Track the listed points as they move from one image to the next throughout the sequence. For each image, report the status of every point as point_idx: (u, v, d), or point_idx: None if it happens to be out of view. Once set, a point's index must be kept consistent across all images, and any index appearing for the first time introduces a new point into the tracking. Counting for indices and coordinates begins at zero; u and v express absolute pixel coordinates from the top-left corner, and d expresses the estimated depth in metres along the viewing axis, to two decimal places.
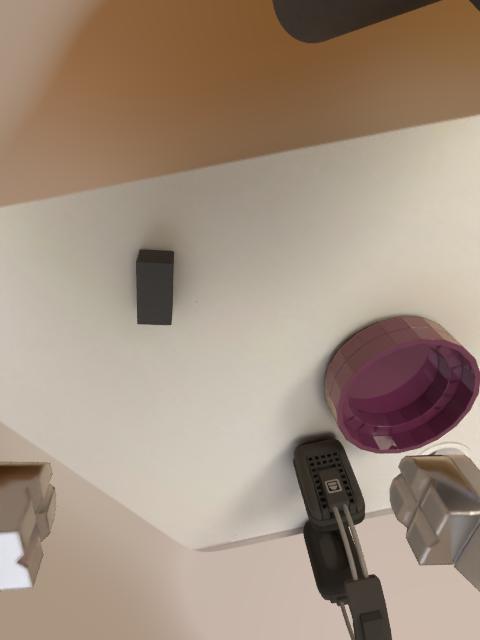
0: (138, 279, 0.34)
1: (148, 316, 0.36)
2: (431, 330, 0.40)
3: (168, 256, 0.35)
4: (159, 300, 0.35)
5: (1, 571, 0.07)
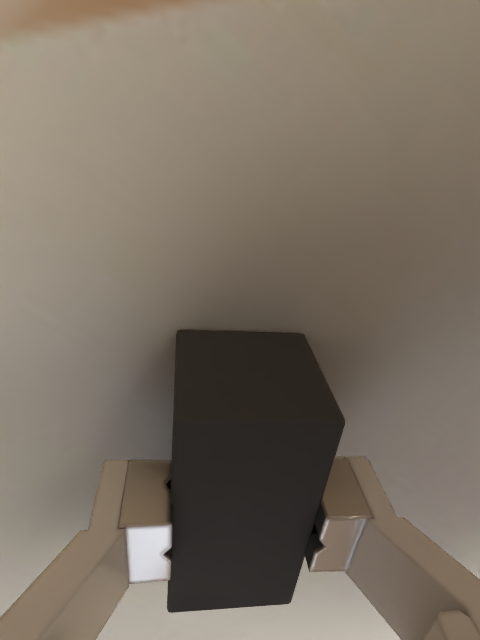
0: (180, 487, 0.07)
1: (211, 591, 0.09)
2: None
3: (301, 366, 0.08)
4: (259, 545, 0.09)
5: (146, 563, 0.08)
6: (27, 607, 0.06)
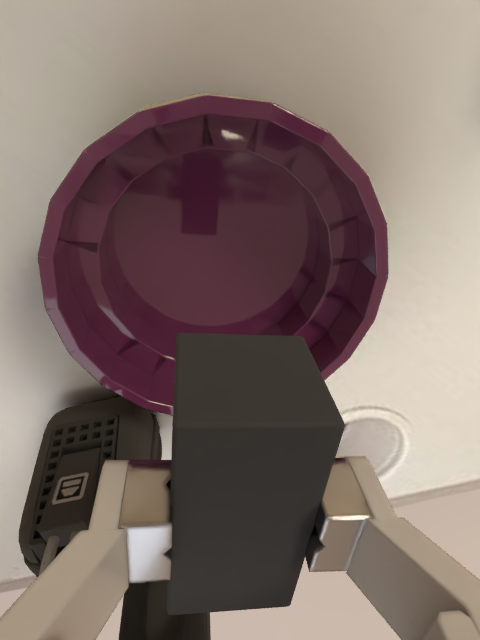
0: (179, 490, 0.07)
1: (210, 594, 0.09)
2: None
3: (301, 368, 0.08)
4: (259, 548, 0.09)
5: (146, 563, 0.08)
6: (27, 607, 0.06)
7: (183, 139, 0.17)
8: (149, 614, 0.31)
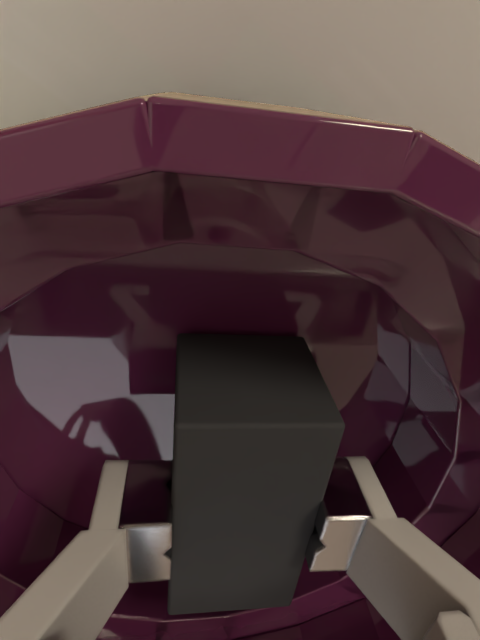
0: (180, 491, 0.07)
1: (211, 594, 0.09)
2: (323, 113, 0.05)
3: (301, 369, 0.08)
4: (259, 548, 0.09)
5: (146, 563, 0.08)
6: (27, 607, 0.06)
7: (108, 222, 0.06)
8: None
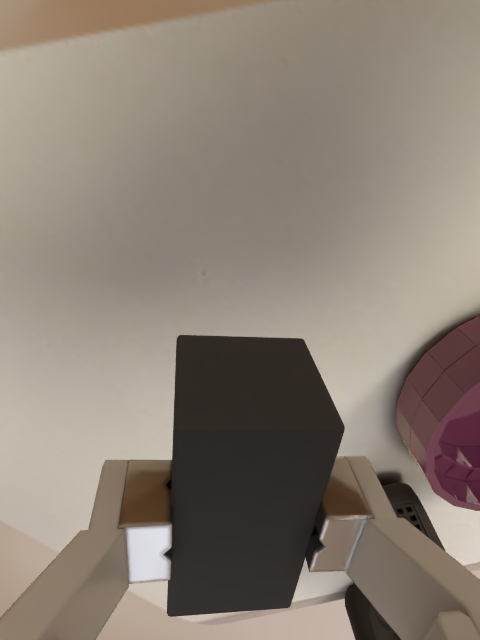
0: (180, 493, 0.07)
1: (211, 595, 0.09)
2: None
3: (301, 371, 0.08)
4: (259, 550, 0.09)
5: (146, 563, 0.08)
6: (27, 607, 0.06)
7: None
8: None
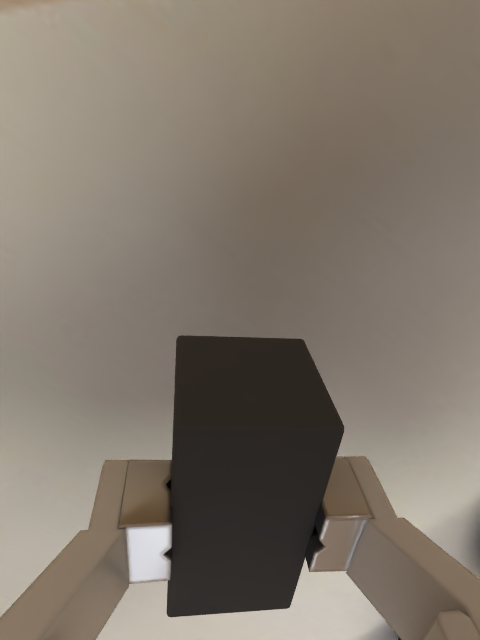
0: (180, 493, 0.07)
1: (210, 596, 0.09)
2: None
3: (301, 372, 0.08)
4: (258, 550, 0.09)
5: (146, 563, 0.08)
6: (27, 607, 0.06)
7: None
8: None
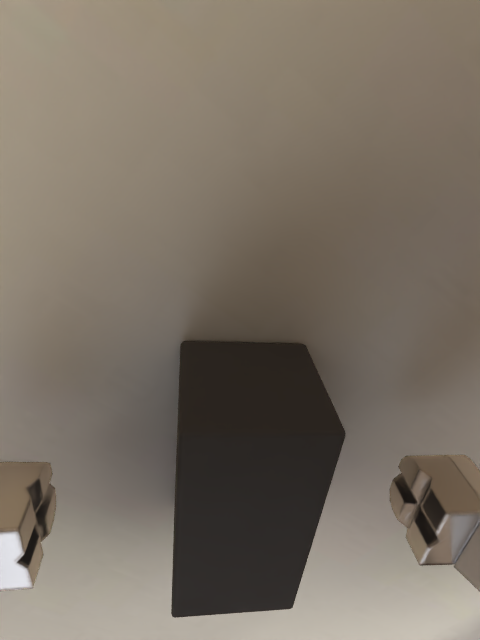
0: (184, 497, 0.08)
1: (214, 597, 0.09)
2: None
3: (302, 377, 0.09)
4: (261, 552, 0.09)
5: (1, 571, 0.07)
6: None
7: None
8: None
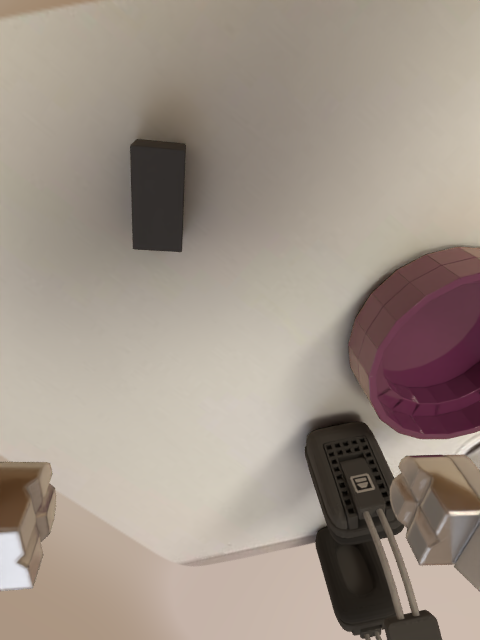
0: (133, 175, 0.23)
1: (148, 237, 0.25)
2: None
3: (178, 145, 0.24)
4: (164, 211, 0.24)
5: (1, 571, 0.07)
6: None
7: None
8: (343, 576, 0.43)
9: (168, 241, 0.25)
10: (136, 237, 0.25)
